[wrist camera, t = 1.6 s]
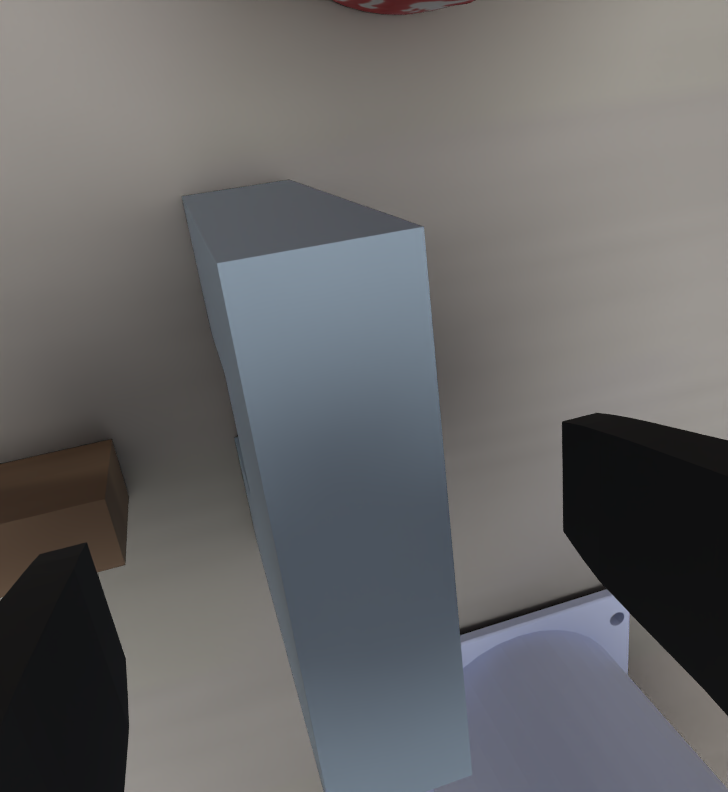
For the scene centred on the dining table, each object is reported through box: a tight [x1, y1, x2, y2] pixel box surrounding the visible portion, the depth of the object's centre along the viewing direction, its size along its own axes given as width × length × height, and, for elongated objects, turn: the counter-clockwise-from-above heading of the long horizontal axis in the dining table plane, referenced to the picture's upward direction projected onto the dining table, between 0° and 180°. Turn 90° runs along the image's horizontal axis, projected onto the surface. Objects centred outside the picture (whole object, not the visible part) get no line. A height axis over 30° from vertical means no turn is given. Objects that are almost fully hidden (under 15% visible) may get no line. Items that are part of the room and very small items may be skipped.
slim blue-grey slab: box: [182, 180, 472, 792], centre depth 13 cm, size 9×2×8 cm, turn 7°
